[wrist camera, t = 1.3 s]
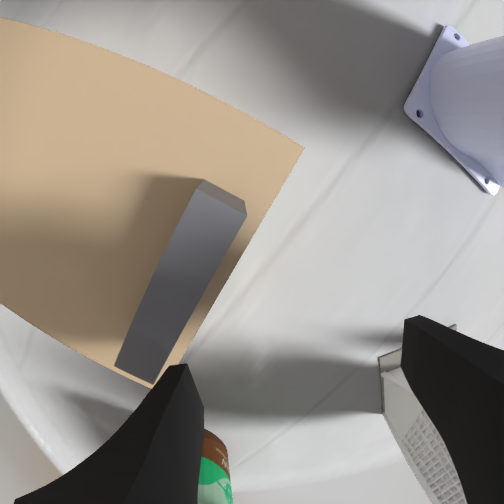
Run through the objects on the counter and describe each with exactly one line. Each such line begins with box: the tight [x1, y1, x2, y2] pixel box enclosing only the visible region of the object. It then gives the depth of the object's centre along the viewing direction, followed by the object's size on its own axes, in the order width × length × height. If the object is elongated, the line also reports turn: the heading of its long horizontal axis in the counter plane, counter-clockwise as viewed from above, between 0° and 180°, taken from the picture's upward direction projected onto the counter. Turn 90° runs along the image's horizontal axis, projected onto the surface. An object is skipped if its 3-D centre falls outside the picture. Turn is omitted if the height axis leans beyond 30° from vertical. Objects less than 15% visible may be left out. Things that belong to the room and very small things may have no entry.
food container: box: [198, 429, 233, 504], centre depth 19 cm, size 12×6×10 cm, turn 13°
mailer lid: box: [0, 18, 305, 389], centre depth 10 cm, size 16×12×3 cm
